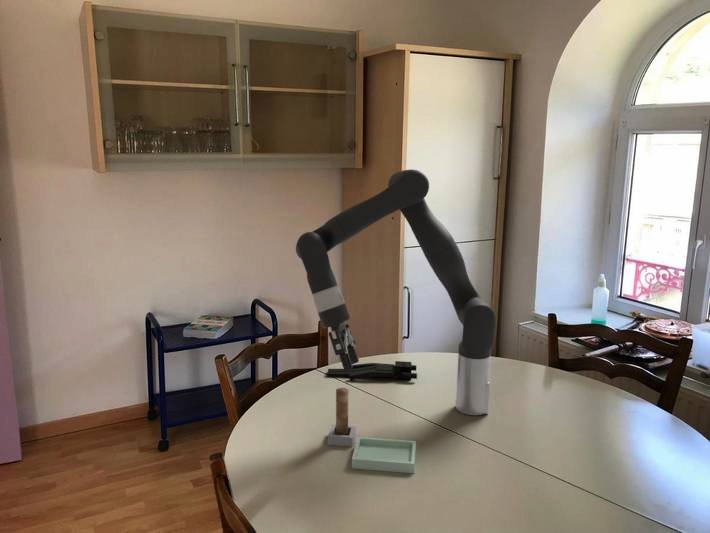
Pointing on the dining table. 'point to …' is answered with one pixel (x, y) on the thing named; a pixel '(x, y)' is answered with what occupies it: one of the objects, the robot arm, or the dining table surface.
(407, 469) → the tray
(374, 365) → the toy
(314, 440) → the dining table surface
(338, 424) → the dowel
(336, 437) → the holder
